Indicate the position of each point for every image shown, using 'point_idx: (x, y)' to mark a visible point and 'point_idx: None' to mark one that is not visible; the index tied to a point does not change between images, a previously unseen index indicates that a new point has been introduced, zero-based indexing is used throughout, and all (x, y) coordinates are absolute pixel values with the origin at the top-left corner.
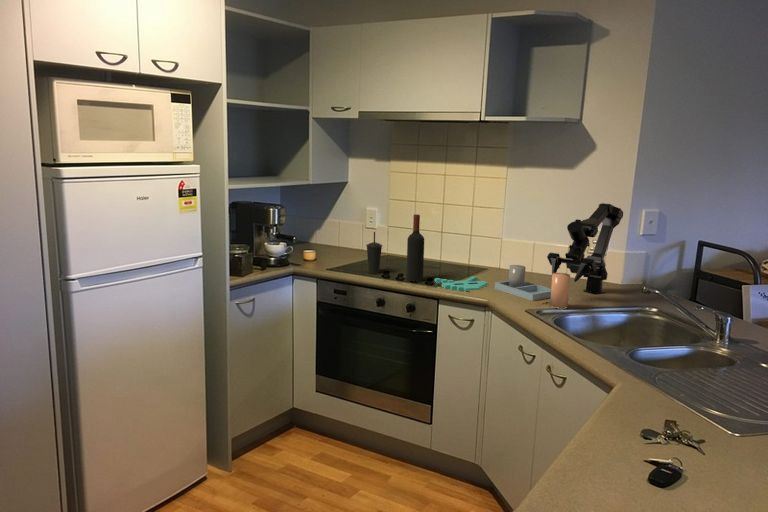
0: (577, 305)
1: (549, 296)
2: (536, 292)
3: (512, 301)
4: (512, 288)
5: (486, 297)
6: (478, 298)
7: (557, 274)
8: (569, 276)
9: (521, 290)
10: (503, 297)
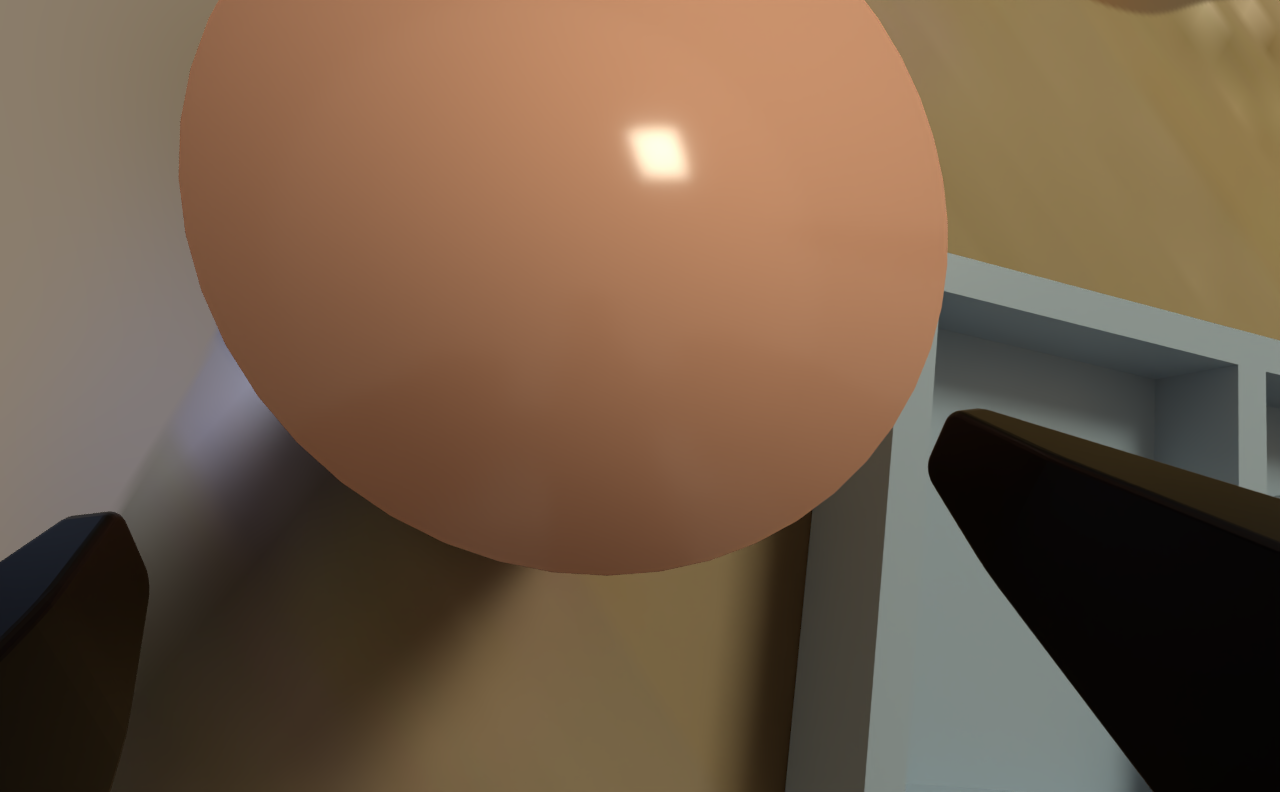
0: (333, 760)
1: (830, 636)
2: (1090, 719)
3: (1008, 165)
4: (1258, 336)
5: (1238, 99)
6: (1245, 5)
7: (725, 93)
8: (190, 223)
9: (1134, 325)
10: (1163, 241)
